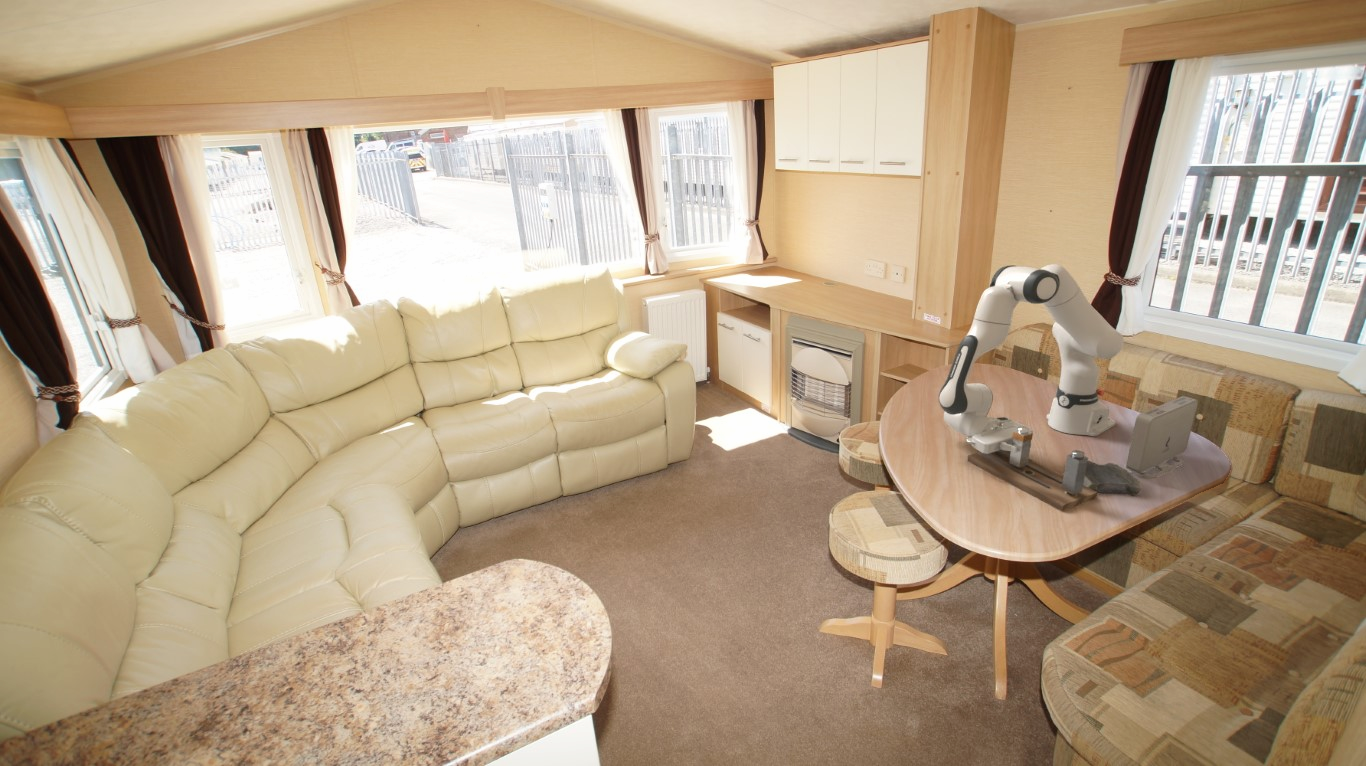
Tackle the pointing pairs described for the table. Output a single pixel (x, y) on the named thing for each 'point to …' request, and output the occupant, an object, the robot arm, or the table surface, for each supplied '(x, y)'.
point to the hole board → (1032, 479)
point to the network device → (1161, 436)
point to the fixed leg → (1074, 472)
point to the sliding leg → (1021, 446)
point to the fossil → (1110, 479)
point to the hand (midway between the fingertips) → (1023, 448)
